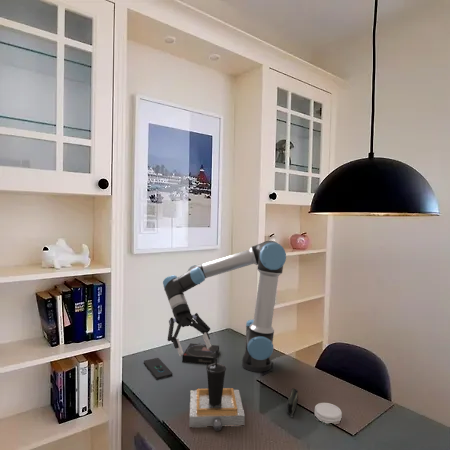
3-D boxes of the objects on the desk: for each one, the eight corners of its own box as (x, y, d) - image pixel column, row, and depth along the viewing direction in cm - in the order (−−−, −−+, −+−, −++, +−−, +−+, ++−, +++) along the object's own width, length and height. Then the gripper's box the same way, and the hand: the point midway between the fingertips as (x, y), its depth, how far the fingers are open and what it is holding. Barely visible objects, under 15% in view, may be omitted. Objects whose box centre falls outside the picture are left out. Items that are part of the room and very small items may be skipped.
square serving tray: (238, 399, 143) (238, 386, 143) (245, 431, 122) (245, 416, 122) (190, 399, 141) (190, 386, 141) (189, 432, 120) (189, 417, 120)
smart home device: (156, 377, 157) (143, 360, 174) (156, 381, 157) (142, 363, 174) (173, 373, 161) (158, 357, 178) (173, 376, 161) (158, 360, 179)
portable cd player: (219, 352, 191) (219, 345, 191) (213, 365, 174) (213, 358, 174) (190, 349, 193) (190, 342, 193) (182, 363, 176) (182, 355, 176)
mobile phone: (291, 386, 145) (286, 404, 131) (298, 388, 144) (294, 406, 130) (290, 398, 145) (286, 417, 131) (297, 399, 144) (293, 419, 130)
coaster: (347, 421, 130) (347, 412, 130) (328, 429, 125) (328, 419, 125) (327, 408, 139) (327, 399, 138) (309, 414, 134) (309, 405, 133)
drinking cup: (222, 409, 128) (224, 356, 128) (203, 406, 130) (204, 354, 129) (226, 398, 136) (228, 348, 135) (208, 395, 138) (209, 346, 137)
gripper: (200, 307, 165) (216, 348, 154) (151, 315, 151) (166, 362, 139) (206, 299, 160) (223, 341, 149) (156, 306, 146) (172, 354, 135)
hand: (195, 351), depth 144 cm, fingers open, 13 cm apart
